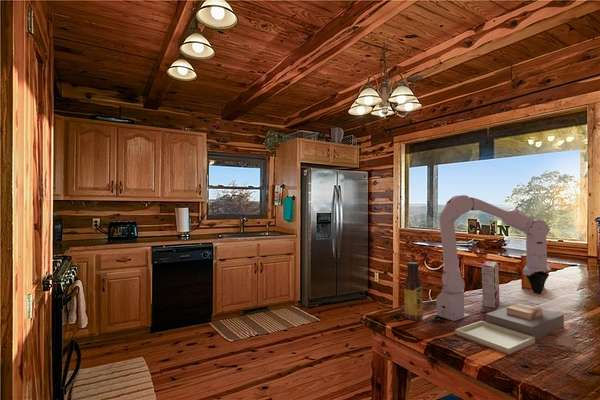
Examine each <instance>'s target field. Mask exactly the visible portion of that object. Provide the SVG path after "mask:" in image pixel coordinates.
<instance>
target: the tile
mask: <svg viewBox="0 0 600 400" xmlns="http://www.w3.org/2000/svg"><path fill="white" fill-rule="evenodd" d="M508 306H509V307H508ZM508 306H506V310H507V314H511V315H514V316H518V317H522V318H525V319H529V320H530V319H533V318H536V317H538V316H541V315H542V309H543V308H542V307H541V308H540V307H535V306H532V305H528V304H524V303H515V305H514V304H512V306H511V305H508Z"/></svg>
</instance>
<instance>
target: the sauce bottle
mask: <svg viewBox="0 0 600 400" xmlns="http://www.w3.org/2000/svg"><path fill="white" fill-rule="evenodd" d="M406 266H407V276H406V277H405V279H404V290H403V291H404V294H403V295H404V314H405V316H404V317H405V318H406V319H408V320H412V321H420V320H422V319H423V316H424V300H423V299H424V296H423V294H424V292H423V283H422V280H421V277H420V275H419V274H420V273H419V268H420V264H419V262H417V261H415V262H414V261H410V262H409V261H408V262H407V263H406Z"/></svg>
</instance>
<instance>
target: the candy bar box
mask: <svg viewBox="0 0 600 400" xmlns="http://www.w3.org/2000/svg"><path fill="white" fill-rule="evenodd" d="M483 262H484V263H482V265H480V268H481V269H480V270H481V271H480V272H481V292H482V307H483V306H485V307H484V308H489V307H491V308H490V309H497V307H498V306H499V304H500V281H499V262H498V261H492V260H491V261H490V260H488V261H487V260H486V261H483Z"/></svg>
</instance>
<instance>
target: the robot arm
mask: <svg viewBox="0 0 600 400" xmlns="http://www.w3.org/2000/svg"><path fill="white" fill-rule="evenodd" d="M470 211H473V212H474V211H475V212H477V211H480V212H483V213H485V214H488V215H490V216H493V217H496V218H498V219H501V221H502V223H503V224H504V225H506V226H508V227H511V228H513V229H516V230H519V231H521V232H524V234H525V246H526V247H525V249H526V250H525V252H526V253H525V254H526V258H527V266H526V267H525V268H524V269H523V275H526V277H527V278H528V280H529V282H530V284H531V287H532V290H531V291H532V293H533V294H535V295H542V294H543V290H544V288H545V284H546V281H547V279H548V278H549V277H550V273H549V272H550V271H551V272H552V268H551V265H550V264H548V254H547V253H548V249H547V245H548V244H547V236H548V235H549V233H550V231H551V228H549V225H548V224H547V222H546V221H544V220H542V219H541V220H540V219H535V216H533V215H527V214H524V213H522V212H521V210H519V209H517V208H515V209H512V208H511V209H508V210H505V209H502V208H500V207H498V206H495V205H493V204H491V203H488V202H487V201H485V200H483V199H482V200H481V199H479V198H476V197H471V196H468V195H466V194H464V195H463V194H461V195H454V196H452V197H451V198H450V199H449V200H447V201H446V204H445V206H444V207H443V209H442V211H441V212H440V215H439V218H438V219H439V228H440V229H439V230H440V238H441V239H440V240H441V250H442V259H443V265H442V266H443V267H442V268H443V269H442V271H443V272H442V275H441V282H442V283H443V287H442V288H441V289H442V290H441V292H440V293H438V294H437V296H436V312H435V313H434V315H436V316H438V317H442V318H443V319H447V320H450V321H453V322H455V321H458V320H461V319H465V318H468V317H470V316H471V315H470V314H469V313H465V290H464V289H465V286H466V283H465V280H464V279H463V277H462V274H461V269H460V266H459V259H458V258H459V257H458V248H457V238H456V229H455V222H456V221H457V220H458V219H459V218H460V217H461V216H463V215H465V214H467V213H469V212H470ZM543 271H544V272H543ZM543 287H544V288H543Z"/></svg>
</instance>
